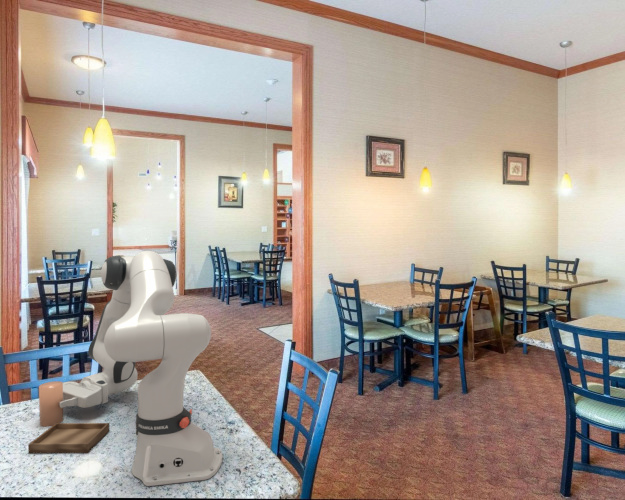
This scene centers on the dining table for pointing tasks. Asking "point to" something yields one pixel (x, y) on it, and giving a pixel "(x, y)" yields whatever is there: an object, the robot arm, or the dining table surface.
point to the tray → (69, 438)
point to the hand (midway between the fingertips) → (50, 402)
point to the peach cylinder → (50, 403)
